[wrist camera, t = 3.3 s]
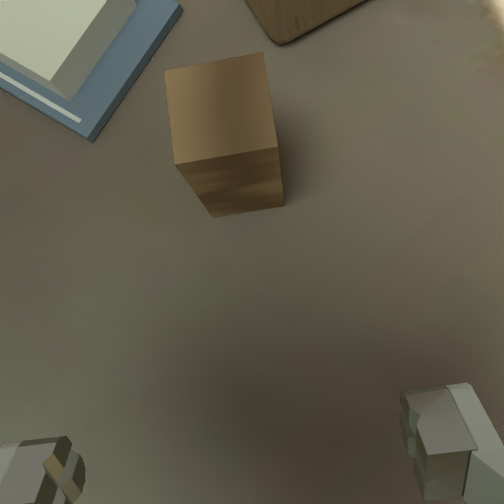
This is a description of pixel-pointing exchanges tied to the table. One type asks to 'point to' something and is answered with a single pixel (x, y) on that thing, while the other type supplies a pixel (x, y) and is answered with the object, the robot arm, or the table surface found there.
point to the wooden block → (296, 15)
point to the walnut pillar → (225, 134)
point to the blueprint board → (101, 72)
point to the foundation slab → (59, 38)
